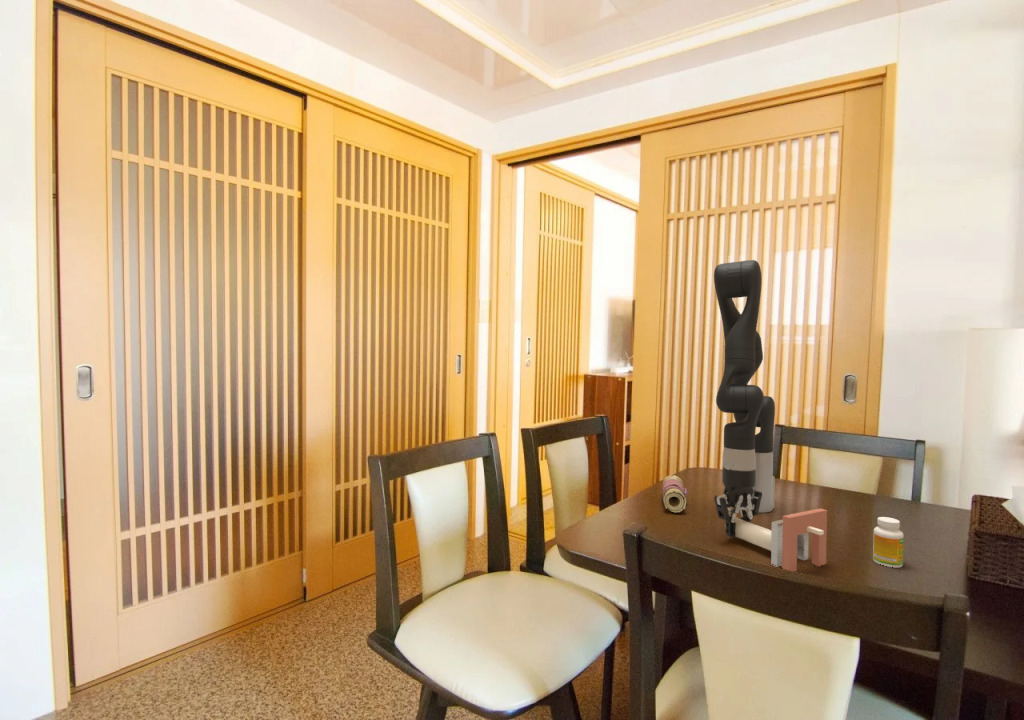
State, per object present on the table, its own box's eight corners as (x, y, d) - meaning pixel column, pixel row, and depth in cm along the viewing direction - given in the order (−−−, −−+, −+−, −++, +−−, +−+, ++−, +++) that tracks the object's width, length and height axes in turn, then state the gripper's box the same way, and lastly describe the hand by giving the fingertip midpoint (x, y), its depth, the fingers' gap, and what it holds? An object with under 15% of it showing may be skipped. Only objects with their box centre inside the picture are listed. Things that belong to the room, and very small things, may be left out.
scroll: (694, 511, 147) (692, 492, 166) (682, 486, 147) (681, 470, 167) (668, 520, 149) (669, 500, 168) (657, 496, 150) (659, 478, 169)
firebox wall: (819, 561, 116) (820, 508, 116) (839, 569, 112) (840, 514, 112) (782, 571, 111) (782, 515, 111) (801, 580, 107) (802, 522, 106)
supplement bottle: (904, 570, 112) (905, 525, 111) (873, 565, 114) (874, 521, 114) (901, 561, 116) (902, 518, 116) (872, 556, 119) (873, 514, 119)
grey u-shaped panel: (802, 556, 119) (802, 515, 118) (808, 559, 117) (808, 517, 117) (771, 564, 115) (771, 521, 114) (777, 567, 113) (777, 523, 113)
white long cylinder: (725, 536, 130) (724, 518, 129) (738, 532, 132) (737, 514, 131) (781, 560, 115) (781, 539, 115) (796, 555, 117) (795, 535, 117)
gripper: (747, 460, 134) (746, 526, 135) (705, 465, 129) (704, 534, 129) (772, 466, 128) (771, 535, 128) (729, 472, 122) (728, 544, 122)
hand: (738, 534), depth 129 cm, fingers closed on white long cylinder, 4 cm apart
